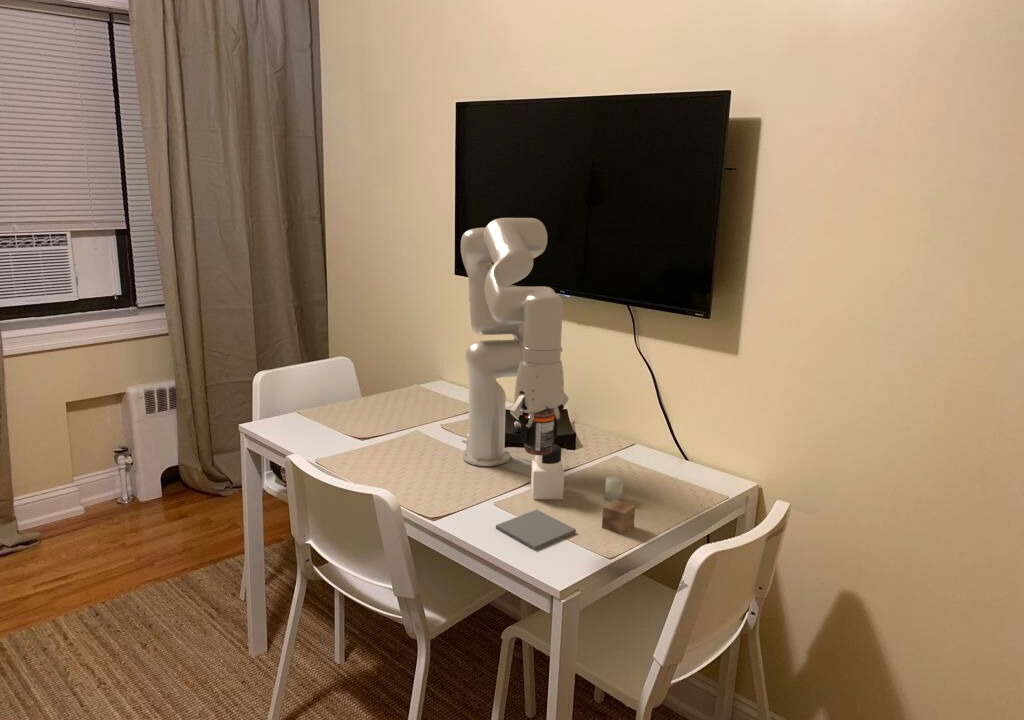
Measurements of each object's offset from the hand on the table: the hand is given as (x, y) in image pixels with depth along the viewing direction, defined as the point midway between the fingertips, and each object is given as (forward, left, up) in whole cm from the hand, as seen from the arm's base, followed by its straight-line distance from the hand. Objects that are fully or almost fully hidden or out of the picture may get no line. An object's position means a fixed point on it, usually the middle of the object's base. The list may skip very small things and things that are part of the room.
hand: (538, 439), depth 155 cm
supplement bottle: (0, 0, -3) cm, 3 cm away
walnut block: (+10, +15, -21) cm, 28 cm away
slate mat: (0, 0, -21) cm, 21 cm away
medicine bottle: (-12, +15, -21) cm, 28 cm away
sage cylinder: (0, +25, -21) cm, 32 cm away
